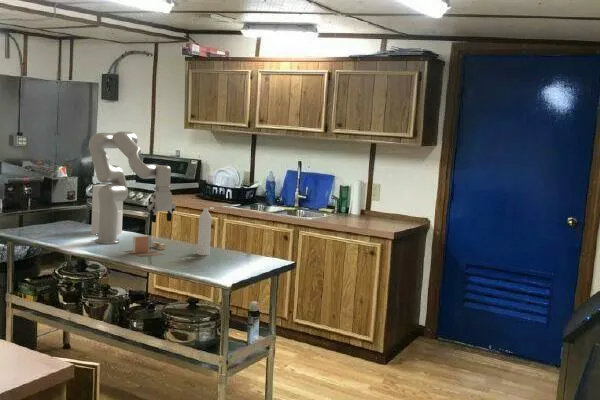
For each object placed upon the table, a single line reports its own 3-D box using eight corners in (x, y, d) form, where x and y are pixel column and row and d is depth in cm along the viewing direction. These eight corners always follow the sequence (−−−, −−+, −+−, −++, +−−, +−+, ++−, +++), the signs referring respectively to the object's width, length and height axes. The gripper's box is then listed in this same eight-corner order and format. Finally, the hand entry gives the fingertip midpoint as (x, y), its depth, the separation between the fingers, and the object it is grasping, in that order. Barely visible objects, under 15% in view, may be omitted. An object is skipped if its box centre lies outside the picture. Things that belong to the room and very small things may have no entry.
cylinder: (91, 230, 379) (93, 183, 376) (121, 230, 385) (123, 185, 382) (91, 235, 363) (92, 187, 360) (122, 235, 368) (124, 188, 365)
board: (123, 254, 320) (123, 251, 320) (146, 251, 330) (146, 248, 330) (141, 260, 309) (141, 257, 309) (164, 257, 320) (164, 254, 320)
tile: (132, 252, 319) (133, 236, 318) (146, 250, 325) (146, 235, 324) (134, 252, 318) (135, 237, 317) (148, 251, 324) (149, 236, 323)
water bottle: (203, 256, 327) (205, 209, 325) (194, 254, 331) (197, 207, 329) (215, 254, 334) (217, 208, 332) (206, 252, 338) (209, 206, 335)
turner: (149, 248, 335) (149, 242, 334) (158, 247, 339) (158, 241, 338) (164, 253, 326) (164, 246, 326) (173, 252, 330) (173, 245, 330)
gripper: (153, 190, 321) (151, 223, 323) (180, 189, 334) (179, 221, 336) (144, 188, 326) (143, 221, 328) (171, 188, 339) (170, 219, 341)
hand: (161, 221), depth 332 cm, fingers open, 9 cm apart
